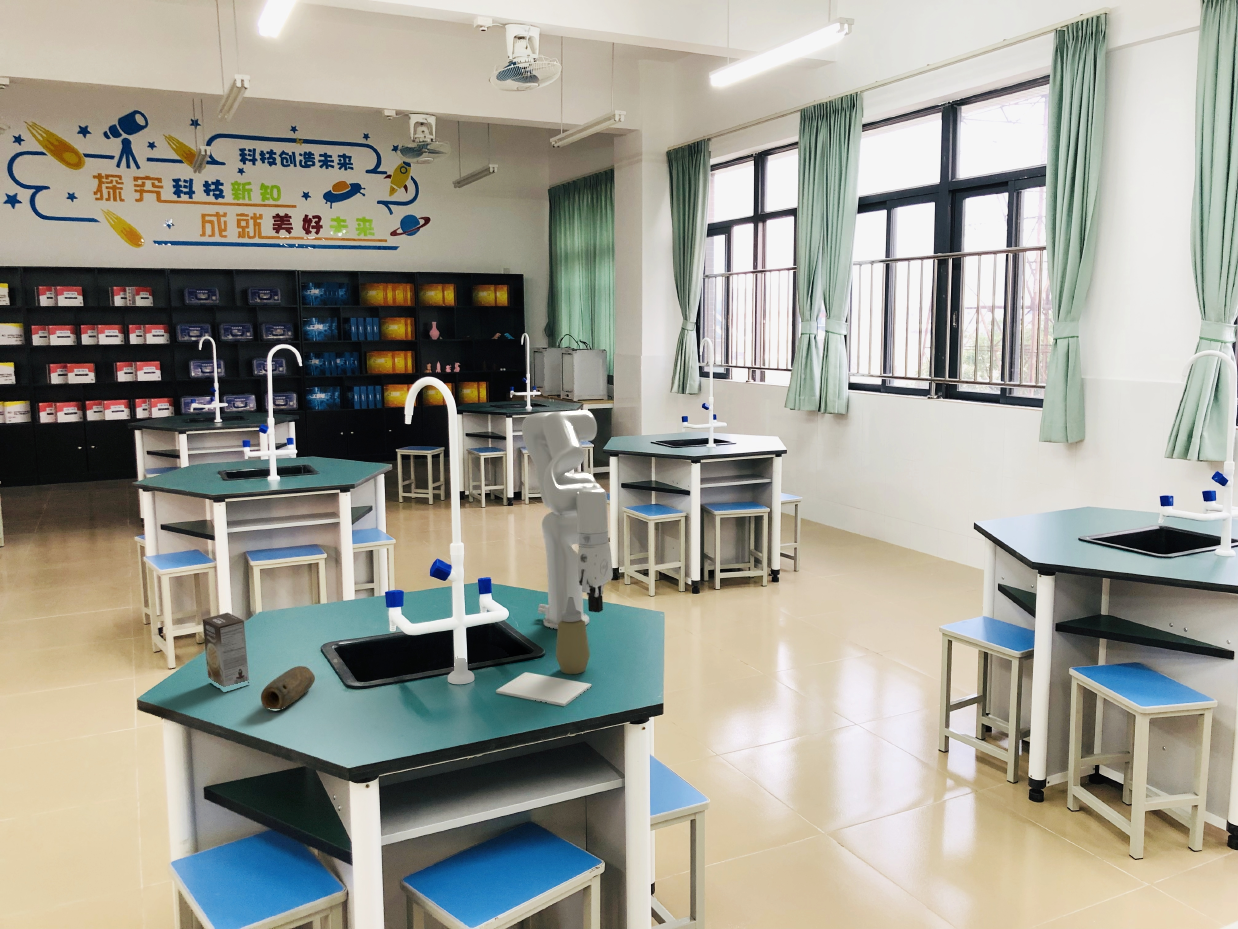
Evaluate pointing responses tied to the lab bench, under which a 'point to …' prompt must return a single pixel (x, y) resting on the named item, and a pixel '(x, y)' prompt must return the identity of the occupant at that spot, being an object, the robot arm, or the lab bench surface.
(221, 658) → the coffee box
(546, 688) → the mat
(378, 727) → the lab bench surface
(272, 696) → the brown hollow cylinder
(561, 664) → the squeeze bottle
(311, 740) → the lab bench surface
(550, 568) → the robot arm
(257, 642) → the lab bench surface
